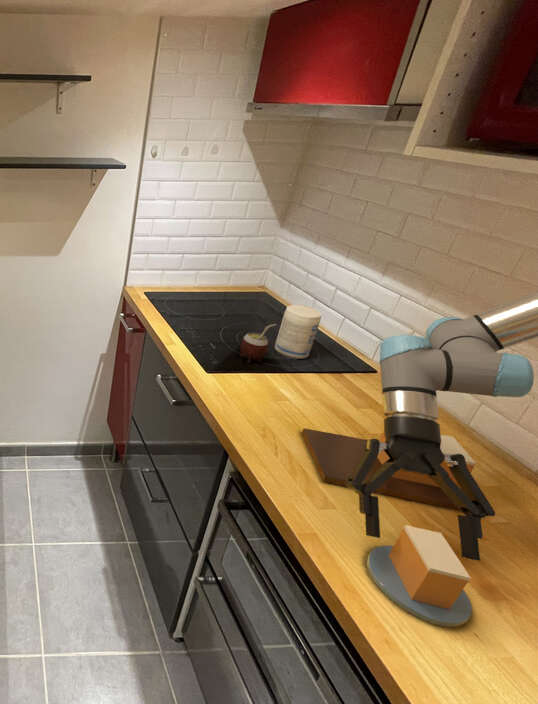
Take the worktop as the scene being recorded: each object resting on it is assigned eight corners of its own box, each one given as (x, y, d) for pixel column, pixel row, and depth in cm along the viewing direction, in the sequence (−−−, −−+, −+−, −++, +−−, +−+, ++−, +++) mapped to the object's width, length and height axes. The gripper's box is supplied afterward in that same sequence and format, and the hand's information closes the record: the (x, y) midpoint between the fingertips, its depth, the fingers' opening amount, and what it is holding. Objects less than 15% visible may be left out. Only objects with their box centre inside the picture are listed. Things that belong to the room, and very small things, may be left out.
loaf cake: (438, 463, 97) (452, 436, 94) (459, 491, 90) (476, 463, 87) (373, 451, 100) (385, 424, 97) (389, 477, 93) (403, 449, 90)
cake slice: (422, 563, 76) (441, 532, 73) (449, 609, 69) (471, 578, 66) (388, 555, 77) (405, 524, 74) (411, 599, 71) (430, 568, 67)
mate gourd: (241, 350, 143) (252, 308, 137) (268, 359, 139) (281, 315, 133) (235, 360, 138) (246, 316, 132) (263, 369, 134) (276, 324, 127)
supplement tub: (310, 362, 137) (325, 320, 131) (275, 356, 141) (288, 314, 135) (305, 348, 145) (318, 307, 139) (272, 342, 149) (284, 302, 143)
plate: (462, 578, 75) (465, 574, 74) (475, 646, 65) (478, 642, 65) (367, 536, 82) (369, 532, 82) (366, 591, 73) (368, 588, 72)
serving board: (430, 457, 101) (433, 452, 100) (475, 513, 87) (478, 508, 86) (301, 432, 108) (303, 427, 107) (323, 481, 94) (325, 476, 93)
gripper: (479, 435, 81) (495, 565, 74) (322, 409, 87) (324, 526, 81) (513, 431, 74) (535, 573, 67) (341, 403, 81) (345, 530, 74)
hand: (420, 548), depth 74 cm, fingers open, 13 cm apart
